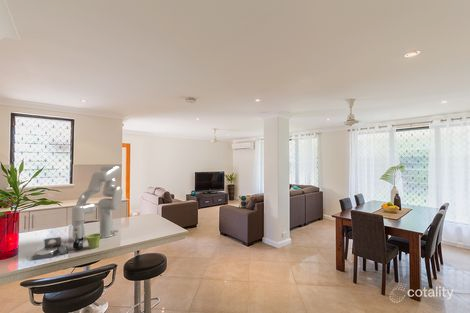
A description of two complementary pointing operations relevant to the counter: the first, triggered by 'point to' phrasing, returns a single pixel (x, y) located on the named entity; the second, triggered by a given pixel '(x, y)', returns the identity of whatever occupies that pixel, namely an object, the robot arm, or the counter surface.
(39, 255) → the scale
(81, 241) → the spacer
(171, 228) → the counter surface
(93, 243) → the plant pot
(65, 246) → the spacer
